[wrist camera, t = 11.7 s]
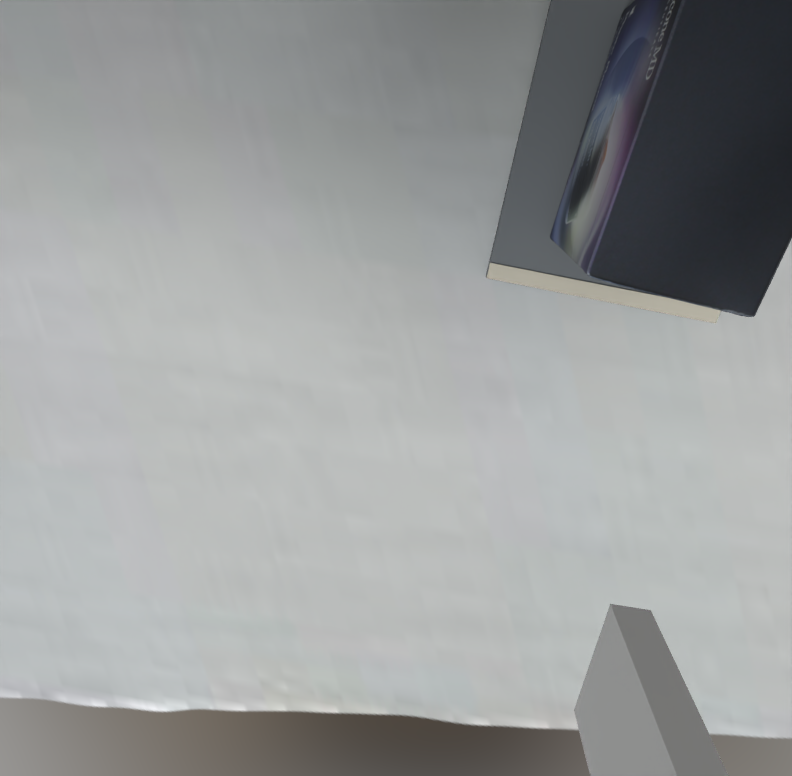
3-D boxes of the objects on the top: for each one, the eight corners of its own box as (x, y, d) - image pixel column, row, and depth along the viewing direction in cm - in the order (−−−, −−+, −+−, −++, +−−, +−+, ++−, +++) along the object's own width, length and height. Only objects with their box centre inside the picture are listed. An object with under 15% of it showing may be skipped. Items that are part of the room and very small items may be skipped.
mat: (486, 275, 32) (486, 278, 31) (564, -60, 26) (567, -65, 26) (710, 320, 32) (716, 323, 31) (837, -10, 26) (847, -15, 25)
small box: (614, 2, 27) (705, -91, 17) (758, 36, 26) (934, -36, 17) (540, 240, 30) (579, 277, 21) (666, 270, 30) (764, 323, 21)
